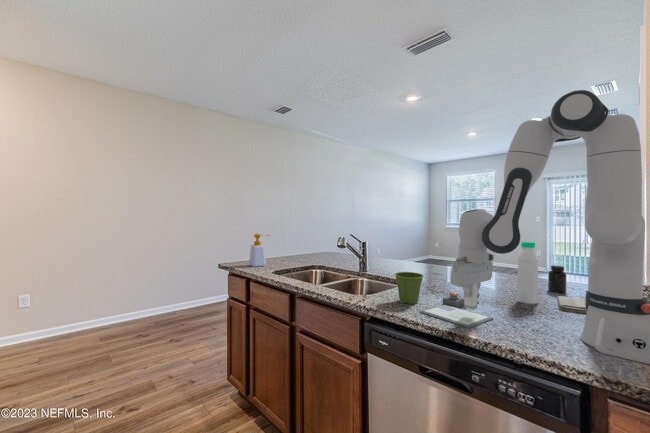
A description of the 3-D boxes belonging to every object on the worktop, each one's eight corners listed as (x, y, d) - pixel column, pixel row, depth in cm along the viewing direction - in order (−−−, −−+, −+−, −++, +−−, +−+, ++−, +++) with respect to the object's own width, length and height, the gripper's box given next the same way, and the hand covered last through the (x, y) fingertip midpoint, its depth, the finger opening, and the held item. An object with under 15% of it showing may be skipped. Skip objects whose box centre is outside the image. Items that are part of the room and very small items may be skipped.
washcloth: (559, 311, 116) (559, 303, 116) (555, 300, 131) (555, 293, 131) (601, 317, 109) (601, 309, 109) (592, 305, 124) (592, 297, 124)
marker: (477, 308, 106) (478, 277, 105) (472, 309, 104) (473, 278, 104) (468, 305, 108) (469, 276, 108) (463, 307, 107) (464, 277, 106)
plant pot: (388, 301, 128) (388, 274, 127) (405, 296, 135) (405, 270, 135) (412, 308, 118) (412, 278, 118) (429, 302, 126) (429, 275, 126)
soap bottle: (272, 265, 213) (272, 233, 213) (252, 267, 206) (252, 234, 206) (267, 263, 221) (267, 232, 221) (248, 265, 215) (248, 233, 214)
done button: (460, 302, 122) (460, 293, 122) (455, 303, 120) (455, 294, 120) (452, 300, 125) (452, 291, 125) (447, 301, 123) (447, 292, 123)
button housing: (465, 305, 122) (465, 299, 122) (456, 308, 118) (456, 301, 118) (451, 301, 127) (451, 295, 127) (442, 304, 123) (442, 298, 123)
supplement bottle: (544, 290, 146) (544, 265, 146) (554, 289, 148) (555, 264, 148) (559, 294, 140) (559, 267, 140) (570, 292, 142) (570, 267, 142)
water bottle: (517, 299, 131) (517, 240, 131) (537, 301, 128) (537, 241, 127) (517, 303, 125) (518, 241, 125) (538, 305, 121) (539, 242, 121)
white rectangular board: (493, 319, 106) (493, 317, 106) (469, 328, 97) (469, 325, 97) (444, 305, 121) (444, 303, 121) (419, 312, 113) (419, 310, 113)
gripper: (463, 259, 97) (462, 303, 97) (496, 255, 109) (495, 293, 109) (446, 257, 102) (444, 298, 103) (479, 252, 114) (478, 289, 114)
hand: (471, 295), depth 106 cm, fingers closed on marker, 3 cm apart
